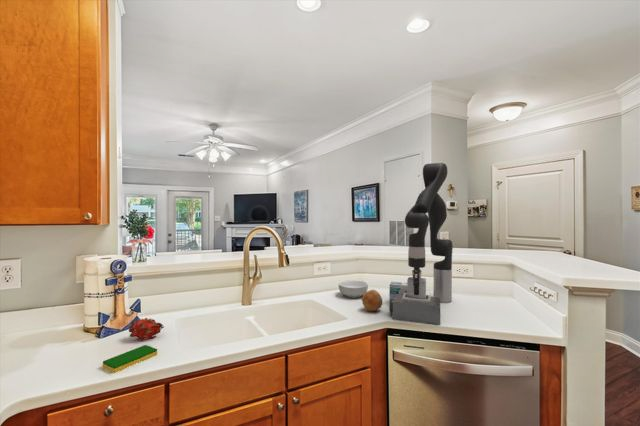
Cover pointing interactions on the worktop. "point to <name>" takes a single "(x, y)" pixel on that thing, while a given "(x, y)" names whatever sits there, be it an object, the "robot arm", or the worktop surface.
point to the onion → (372, 300)
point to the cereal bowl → (353, 288)
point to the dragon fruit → (145, 328)
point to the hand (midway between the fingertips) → (416, 293)
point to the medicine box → (421, 288)
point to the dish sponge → (129, 358)
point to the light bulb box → (397, 289)
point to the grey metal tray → (416, 309)
